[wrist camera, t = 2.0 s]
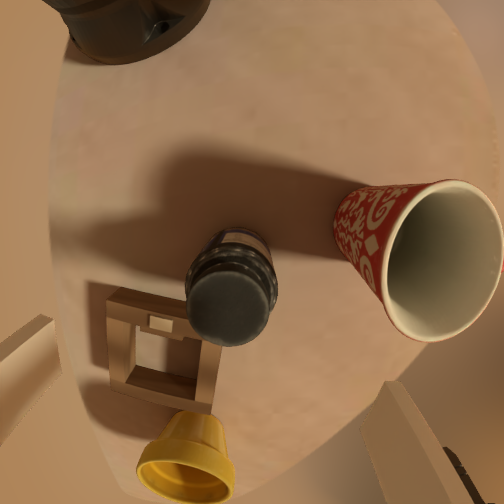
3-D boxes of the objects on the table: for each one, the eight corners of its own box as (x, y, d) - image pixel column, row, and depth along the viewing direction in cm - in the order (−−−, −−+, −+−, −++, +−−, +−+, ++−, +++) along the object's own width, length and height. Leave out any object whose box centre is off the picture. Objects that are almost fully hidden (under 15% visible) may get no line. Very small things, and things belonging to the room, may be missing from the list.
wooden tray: (121, 286, 28) (104, 301, 24) (228, 309, 28) (224, 328, 24) (122, 372, 30) (110, 391, 26) (213, 394, 30) (209, 417, 27)
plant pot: (154, 438, 33) (135, 491, 23) (160, 387, 30) (134, 448, 21) (228, 456, 33) (222, 512, 24) (247, 409, 31) (244, 475, 21)
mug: (315, 270, 27) (364, 346, 14) (327, 170, 25) (396, 163, 12) (428, 277, 27) (511, 334, 14) (442, 191, 25) (541, 207, 12)
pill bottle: (224, 302, 28) (207, 371, 17) (191, 246, 27) (151, 288, 16) (283, 273, 27) (300, 331, 16) (252, 213, 26) (249, 236, 15)
